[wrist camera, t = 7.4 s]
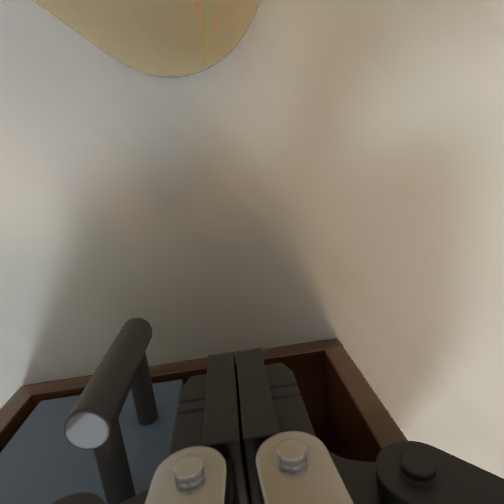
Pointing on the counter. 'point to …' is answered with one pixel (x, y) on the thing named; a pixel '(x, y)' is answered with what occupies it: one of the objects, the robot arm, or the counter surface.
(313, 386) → the cupboard
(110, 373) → the sliding lid with handle
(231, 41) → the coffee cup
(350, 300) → the counter surface
